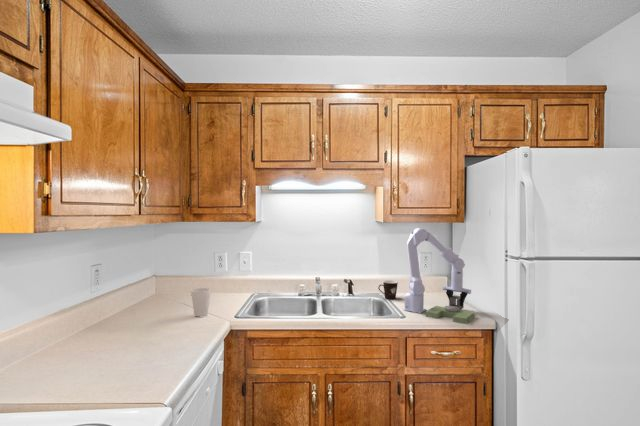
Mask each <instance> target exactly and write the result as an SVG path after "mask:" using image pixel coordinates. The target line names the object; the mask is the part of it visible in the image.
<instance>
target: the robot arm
mask: <svg viewBox="0 0 640 426" xmlns="http://www.w3.org/2000/svg"><path fill="white" fill-rule="evenodd" d="M424 241H425V242H429V243H430V244H431V245H432V246H434V247H435V248H436V249H437V250H438V251H439V252H440V256H441V257H442V258H443V259H444V260H446V261H447V262H448V263H449V266H450V267H451V275H450V277H451V278H450V283H451V284H450V286H447V285H443V286H442V291H445V294H446V295H447V297H448V299H449V298H450V297H452V296H454V292H455V293H460V294H459V296H460V298H461V303H460V305H461V307H462V306H463V303H464V304H465V300H466V298H467V296H468V294H469V295H470V294H472V289H468V288H464V287H463V285H464V284H463V283H464V282H463V281H464V280H463V277H464V271H463V270H464V269H463V268H464V267H465V265H466V264H465V261H464V260H463V259H462V258H460V257H459V254H457V253H455V252H454V251H453V248H452V247H449V246H447V247H446V246H444V245H443V244H442V243H441V241H439V240H438V239H437V238H436V237H435V236H434V235H433V234H432V233H431V232H429V231H428V230H427V229H425V228H421V227H416V228H414V229H413V230H411V232H410V234H409V237H408V239H407V242H406V251H407V257H408V258H407V259H408V265H409V267H408V268H409V272H410V277H409V284H408V286H409V290H410V292H406V294H405V295H404V308H403V310H404V311H405V312H412V313H418V314H421V313H423V312H426V311H427V308H425V307H424V299H425V298H424V296H425V295H424V293H425V290H426V288H425V286H424V284H423V280H422V277H421V271H420V263H419V257H418V256H419V254H418V248H417V247H418V246H419V245H420V244H421V243H422V242H424Z"/></svg>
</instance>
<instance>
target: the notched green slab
mask: <svg viewBox="0 0 640 426" xmlns="http://www.w3.org/2000/svg"><path fill="white" fill-rule="evenodd" d="M425 317H428V318H433V319H439V318H440V317H447V318H452V321H453V323H460V324H465V325H466V324H468V323H469V322H470V321H471V320H473V319H475V311H469V310H465V309H461V310H459V307H456V306H449V305H446V306H439V305H435V306H433V307H431V308H429V309H428V310H427V309H426V310H425Z"/></svg>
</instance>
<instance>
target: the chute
mask: <svg viewBox="0 0 640 426" xmlns="http://www.w3.org/2000/svg"><path fill="white" fill-rule="evenodd" d="M460 303H461V298H460V295H455V294H453V296H452V297H450V298H448V306H456V307H459V310H463V309H464V307H465V306H464V304H465V302H464V303H463V306H462V307H461V305H460Z"/></svg>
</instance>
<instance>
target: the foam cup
mask: <svg viewBox="0 0 640 426" xmlns="http://www.w3.org/2000/svg"><path fill="white" fill-rule="evenodd" d="M190 296H191V301H192V306H193V307H192V308H193V315H195V316H205V317H207V316H208V313H209V306H210V298H211V288H208V287H199V288H192V289H191V290H190ZM206 315H207V316H206ZM195 316H194V317H195Z"/></svg>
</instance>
